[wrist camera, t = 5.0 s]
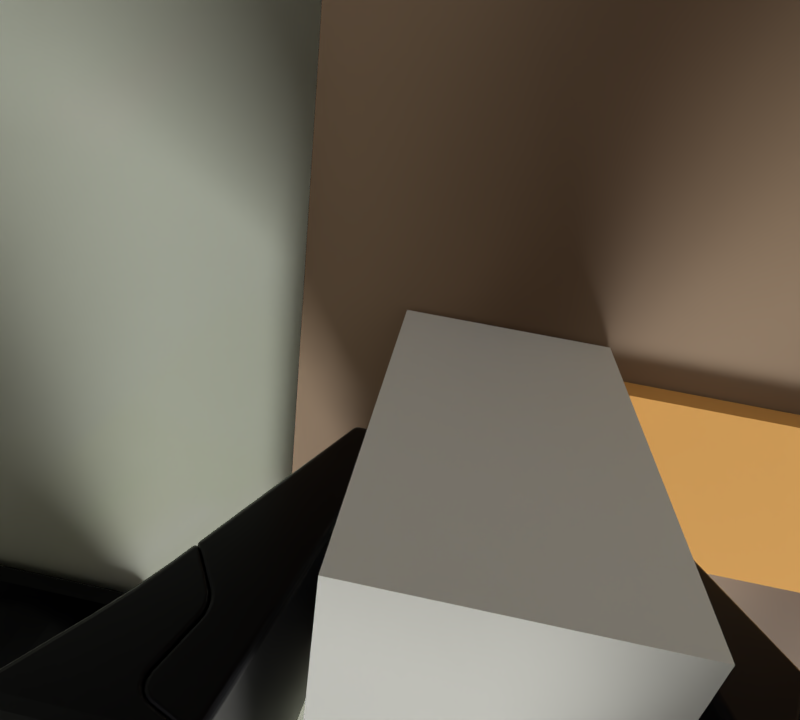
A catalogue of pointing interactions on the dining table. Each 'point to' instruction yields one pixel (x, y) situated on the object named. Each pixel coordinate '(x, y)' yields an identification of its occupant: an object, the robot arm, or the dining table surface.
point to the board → (559, 199)
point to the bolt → (543, 536)
